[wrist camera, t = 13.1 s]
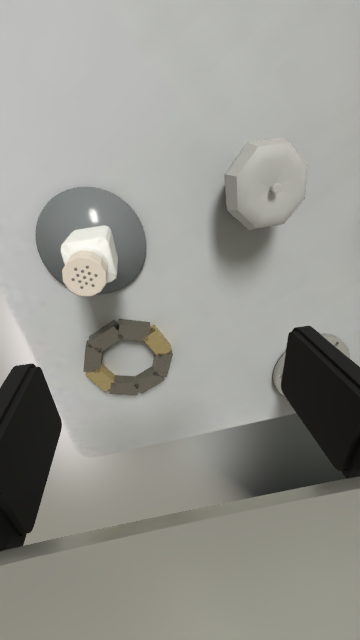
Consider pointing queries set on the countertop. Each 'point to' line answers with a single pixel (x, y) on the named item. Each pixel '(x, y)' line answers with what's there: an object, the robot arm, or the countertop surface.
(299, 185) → the octagonal pegged knob
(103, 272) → the salt shaker
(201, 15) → the countertop surface
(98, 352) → the collar
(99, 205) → the gray glossy dome
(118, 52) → the countertop surface
